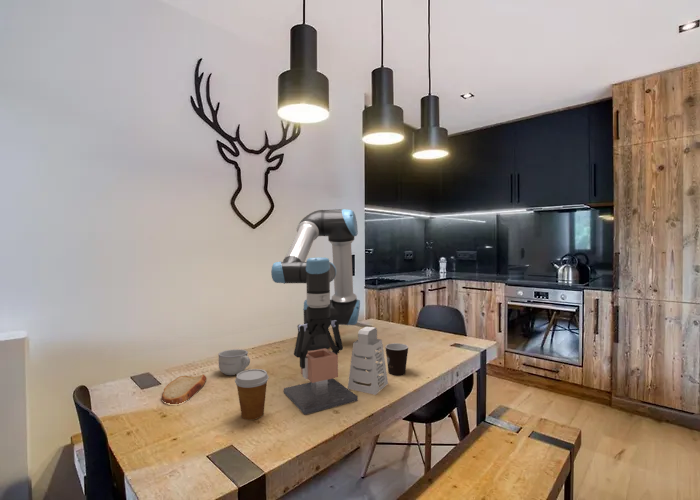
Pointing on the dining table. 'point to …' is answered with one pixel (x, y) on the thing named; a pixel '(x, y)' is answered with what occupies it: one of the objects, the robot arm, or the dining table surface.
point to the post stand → (319, 395)
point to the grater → (367, 362)
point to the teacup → (233, 361)
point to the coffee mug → (396, 358)
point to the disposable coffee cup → (252, 392)
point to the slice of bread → (182, 388)
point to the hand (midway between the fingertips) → (319, 374)
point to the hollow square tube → (321, 365)
